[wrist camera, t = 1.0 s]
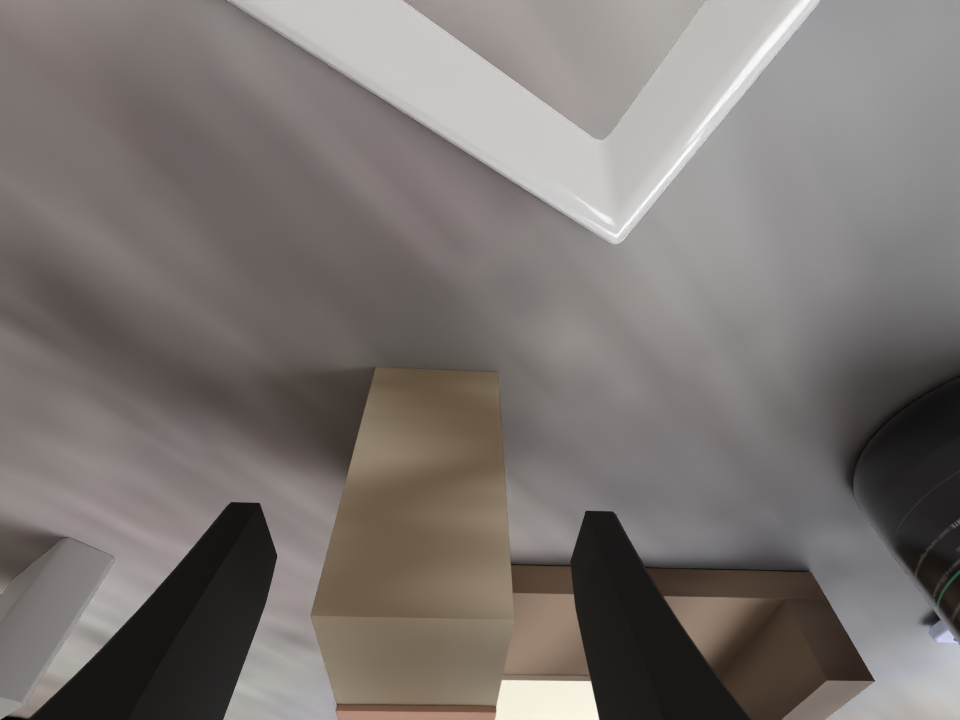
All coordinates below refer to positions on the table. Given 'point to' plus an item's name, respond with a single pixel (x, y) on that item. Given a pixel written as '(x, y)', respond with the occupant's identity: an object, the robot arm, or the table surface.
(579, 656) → the corner board
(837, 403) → the table surface
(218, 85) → the table surface
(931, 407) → the supplement bottle
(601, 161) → the dessert
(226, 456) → the table surface
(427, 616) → the maple block
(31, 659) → the lighter
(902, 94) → the table surface
